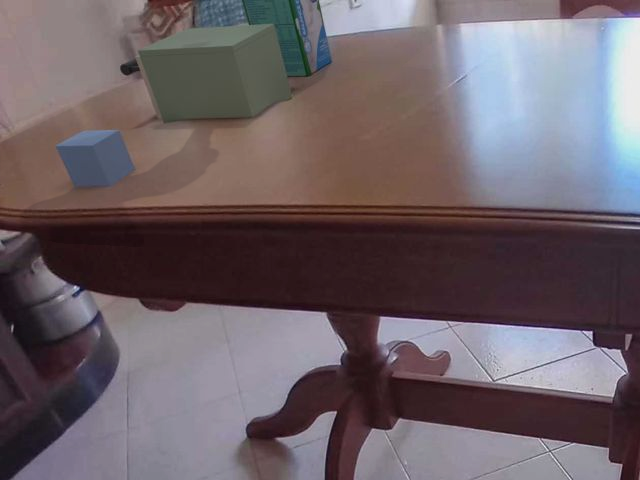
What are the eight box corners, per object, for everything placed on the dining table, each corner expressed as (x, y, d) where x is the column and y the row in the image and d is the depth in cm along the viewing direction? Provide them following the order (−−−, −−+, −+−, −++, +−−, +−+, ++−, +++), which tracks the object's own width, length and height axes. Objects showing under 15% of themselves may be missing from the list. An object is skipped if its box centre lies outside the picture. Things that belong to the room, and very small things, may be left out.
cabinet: (165, 126, 102) (137, 50, 96) (209, 99, 112) (186, 28, 106) (255, 124, 99) (232, 45, 93) (292, 96, 109) (274, 23, 103)
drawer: (128, 120, 104) (104, 57, 99) (171, 96, 113) (151, 37, 107) (240, 117, 100) (221, 52, 95) (275, 92, 109) (259, 31, 103)
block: (113, 194, 82) (92, 145, 79) (77, 194, 83) (54, 145, 80) (139, 177, 86) (119, 129, 83) (104, 177, 87) (83, 130, 84)
